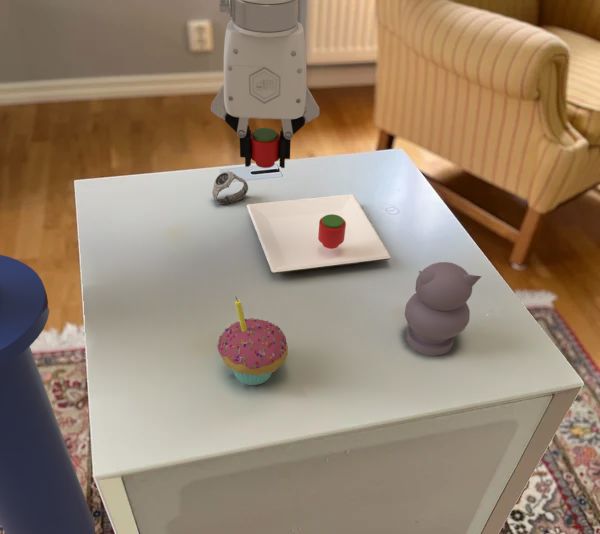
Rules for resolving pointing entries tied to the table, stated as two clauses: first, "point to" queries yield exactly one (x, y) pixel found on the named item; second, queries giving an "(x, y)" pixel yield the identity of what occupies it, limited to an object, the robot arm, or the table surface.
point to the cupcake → (252, 348)
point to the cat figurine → (438, 308)
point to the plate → (314, 233)
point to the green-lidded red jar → (265, 147)
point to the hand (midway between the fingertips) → (265, 161)
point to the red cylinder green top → (331, 231)
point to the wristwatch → (224, 182)
